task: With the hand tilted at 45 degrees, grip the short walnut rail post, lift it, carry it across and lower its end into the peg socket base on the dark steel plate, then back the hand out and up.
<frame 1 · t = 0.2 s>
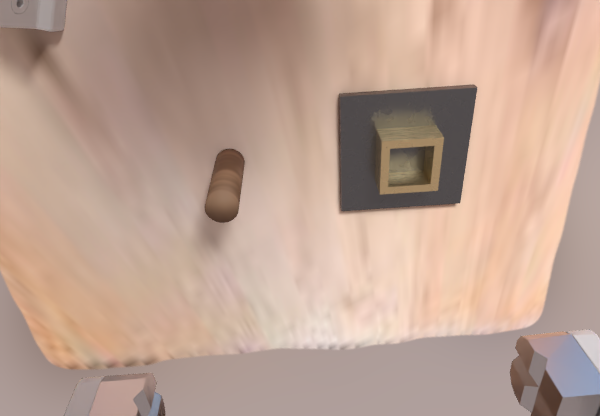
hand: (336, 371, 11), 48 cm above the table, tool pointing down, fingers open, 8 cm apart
rail post: (230, 161, 61), on the table
peg socket base: (402, 150, 61), on the table
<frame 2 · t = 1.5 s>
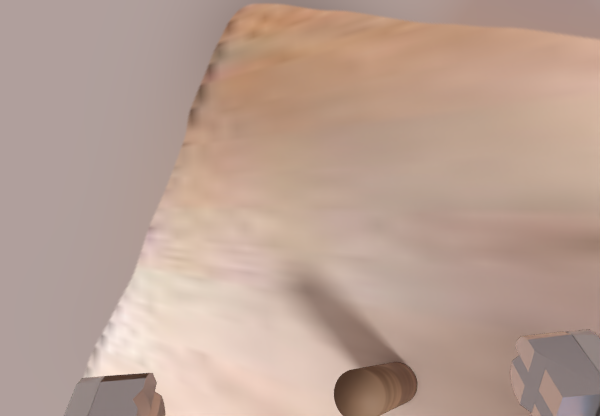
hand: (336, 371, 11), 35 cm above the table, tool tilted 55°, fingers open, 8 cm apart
rail post: (397, 382, 44), on the table
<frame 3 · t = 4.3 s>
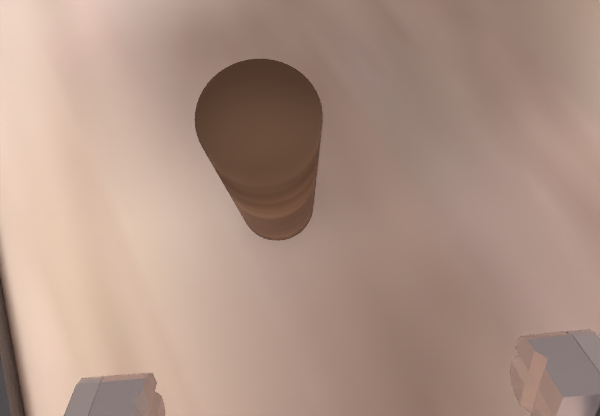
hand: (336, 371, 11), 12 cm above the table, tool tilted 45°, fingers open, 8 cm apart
rail post: (277, 205, 24), on the table
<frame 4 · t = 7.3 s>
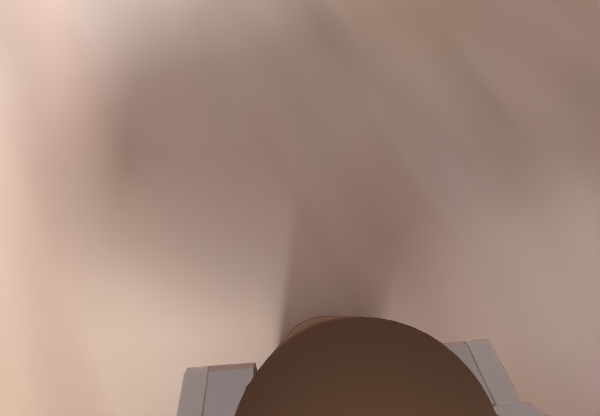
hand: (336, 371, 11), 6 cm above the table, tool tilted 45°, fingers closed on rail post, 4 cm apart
rail post: (327, 368, 17), on the table, touching gripper
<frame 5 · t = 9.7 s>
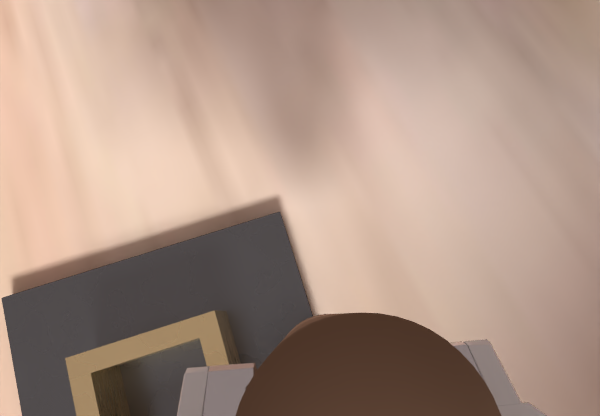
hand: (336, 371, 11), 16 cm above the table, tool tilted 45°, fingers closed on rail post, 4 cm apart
rail post: (328, 366, 17), point 10 cm above the table, touching gripper
peg socket base: (183, 396, 26), on the table
when the fingers open (9 cm above the table, at t = 12.6 s): rail post drops 2 cm, resting on peg socket base.
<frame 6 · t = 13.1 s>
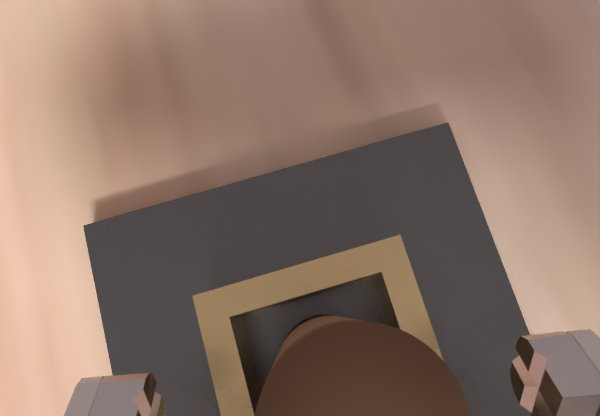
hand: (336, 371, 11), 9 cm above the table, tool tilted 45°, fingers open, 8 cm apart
rail post: (325, 362, 19), point 1 cm above the table, touching peg socket base
peg socket base: (323, 360, 20), on the table
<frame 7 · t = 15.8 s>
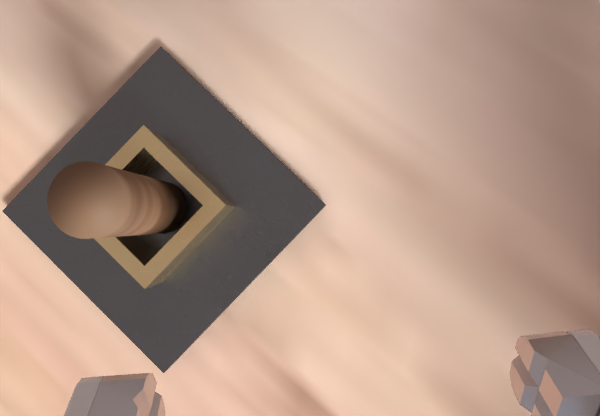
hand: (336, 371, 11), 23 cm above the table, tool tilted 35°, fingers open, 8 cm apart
rail post: (162, 207, 33), point 1 cm above the table, touching peg socket base
peg socket base: (166, 208, 34), on the table
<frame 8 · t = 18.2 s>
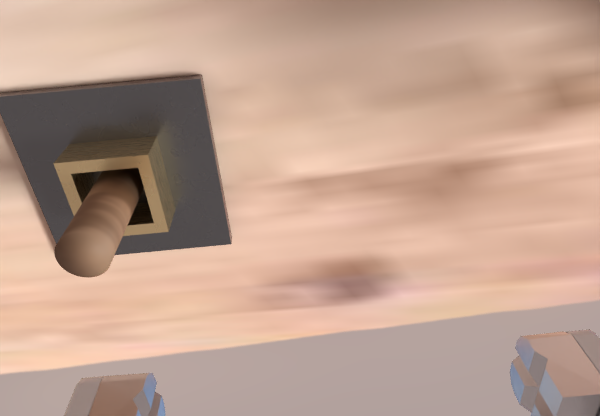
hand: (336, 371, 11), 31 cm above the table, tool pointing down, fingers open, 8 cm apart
rail post: (124, 178, 41), point 1 cm above the table, touching peg socket base
peg socket base: (127, 172, 42), on the table
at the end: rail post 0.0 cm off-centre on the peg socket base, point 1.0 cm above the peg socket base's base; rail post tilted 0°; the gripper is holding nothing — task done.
